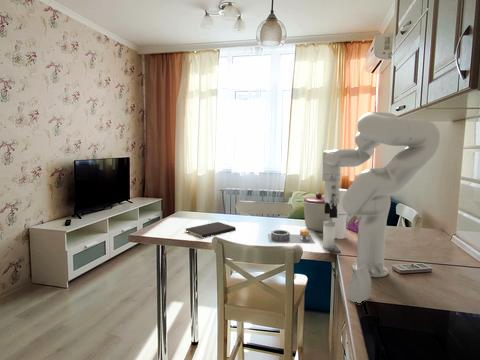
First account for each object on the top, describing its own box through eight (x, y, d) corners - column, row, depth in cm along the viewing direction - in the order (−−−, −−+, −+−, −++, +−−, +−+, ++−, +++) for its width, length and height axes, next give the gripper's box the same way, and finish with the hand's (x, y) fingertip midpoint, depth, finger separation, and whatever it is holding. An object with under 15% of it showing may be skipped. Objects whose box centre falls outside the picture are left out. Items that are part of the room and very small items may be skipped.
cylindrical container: (346, 239, 155) (348, 190, 152) (332, 238, 156) (333, 190, 154) (344, 235, 162) (346, 188, 159) (330, 234, 163) (332, 188, 161)
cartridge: (335, 250, 137) (336, 224, 135) (323, 249, 137) (324, 223, 136) (332, 245, 142) (333, 221, 141) (321, 245, 142) (322, 220, 141)
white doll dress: (370, 297, 95) (372, 266, 94) (359, 304, 91) (360, 272, 90) (359, 293, 98) (360, 263, 97) (348, 299, 94) (349, 268, 93)
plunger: (309, 240, 150) (309, 232, 149) (300, 240, 150) (300, 232, 150) (308, 238, 154) (308, 229, 154) (299, 237, 155) (299, 229, 154)
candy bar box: (345, 228, 176) (346, 200, 174) (352, 227, 178) (353, 200, 176) (359, 233, 165) (360, 204, 164) (366, 232, 167) (368, 203, 165)
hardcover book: (185, 232, 167) (185, 228, 167) (217, 225, 183) (217, 221, 182) (202, 239, 155) (202, 234, 155) (235, 231, 171) (235, 227, 171)
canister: (333, 235, 162) (335, 196, 160) (299, 231, 168) (300, 194, 166) (334, 226, 179) (336, 191, 177) (303, 224, 185) (304, 189, 183)
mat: (340, 252, 135) (340, 251, 135) (320, 252, 136) (320, 250, 136) (335, 246, 144) (335, 244, 144) (316, 245, 145) (316, 244, 145)
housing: (315, 245, 145) (315, 237, 145) (268, 244, 146) (269, 236, 146) (309, 236, 159) (310, 229, 159) (267, 235, 160) (267, 228, 160)
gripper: (345, 179, 127) (344, 219, 129) (334, 176, 145) (334, 212, 146) (327, 179, 128) (326, 219, 129) (318, 176, 145) (318, 212, 146)
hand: (330, 215), depth 137 cm, fingers open, 9 cm apart
